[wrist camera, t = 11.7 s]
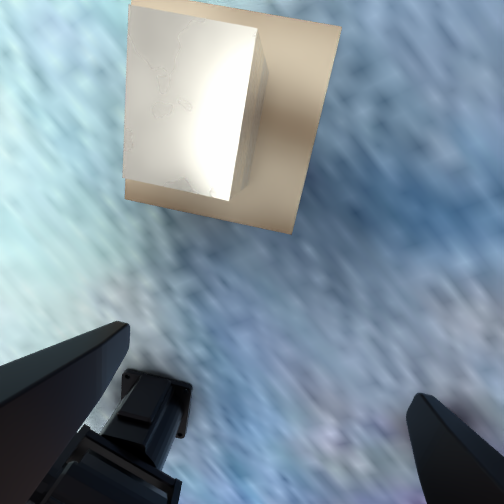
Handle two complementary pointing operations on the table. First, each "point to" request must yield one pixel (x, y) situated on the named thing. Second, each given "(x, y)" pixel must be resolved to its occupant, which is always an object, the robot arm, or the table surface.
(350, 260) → the table surface
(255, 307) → the table surface
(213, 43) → the block
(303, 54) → the thin beige square tile
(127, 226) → the table surface
